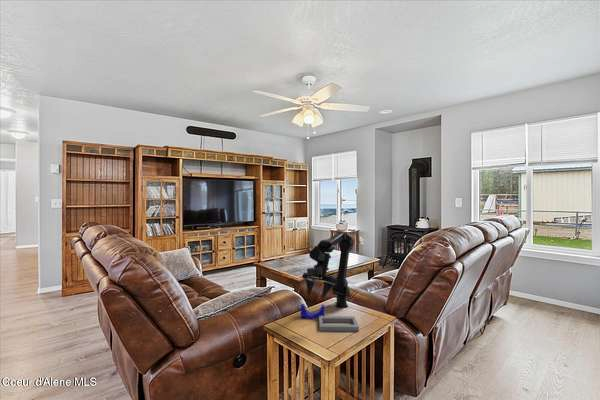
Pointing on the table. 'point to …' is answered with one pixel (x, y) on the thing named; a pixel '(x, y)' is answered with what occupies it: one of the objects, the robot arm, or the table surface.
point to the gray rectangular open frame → (336, 326)
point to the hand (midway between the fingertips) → (315, 296)
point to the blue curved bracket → (308, 315)
